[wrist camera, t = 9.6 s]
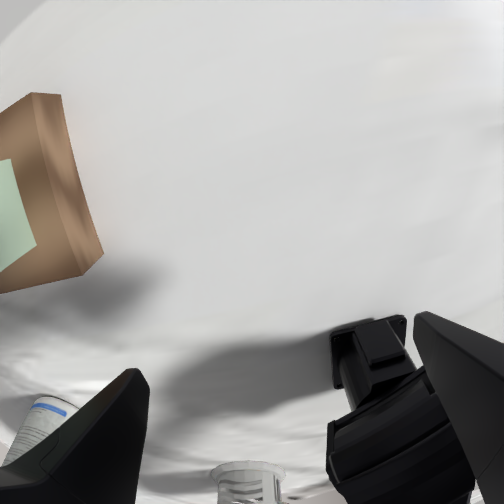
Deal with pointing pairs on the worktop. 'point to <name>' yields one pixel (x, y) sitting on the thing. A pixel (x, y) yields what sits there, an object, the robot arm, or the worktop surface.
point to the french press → (249, 482)
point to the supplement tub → (39, 425)
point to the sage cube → (12, 219)
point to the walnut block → (46, 194)
